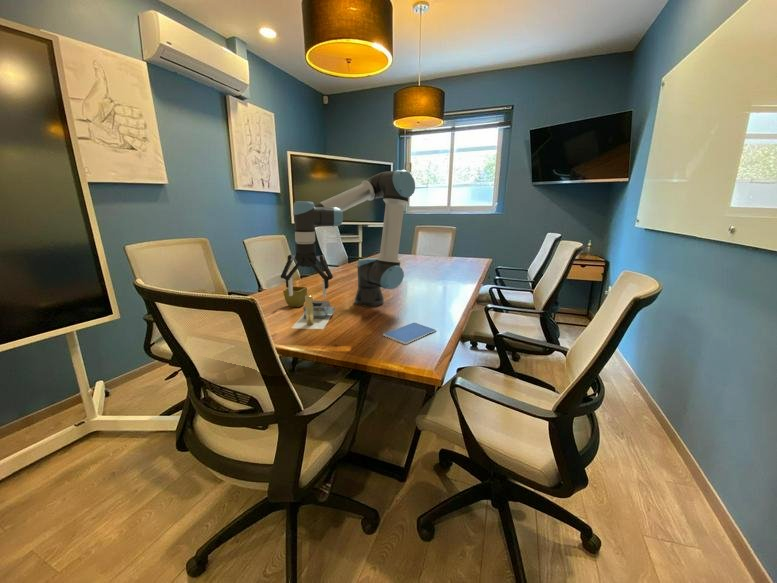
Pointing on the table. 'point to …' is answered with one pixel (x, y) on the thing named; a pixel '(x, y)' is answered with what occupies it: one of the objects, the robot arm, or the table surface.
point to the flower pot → (295, 296)
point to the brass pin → (309, 310)
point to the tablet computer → (408, 333)
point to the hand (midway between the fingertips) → (307, 295)
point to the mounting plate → (317, 325)
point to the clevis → (320, 309)
